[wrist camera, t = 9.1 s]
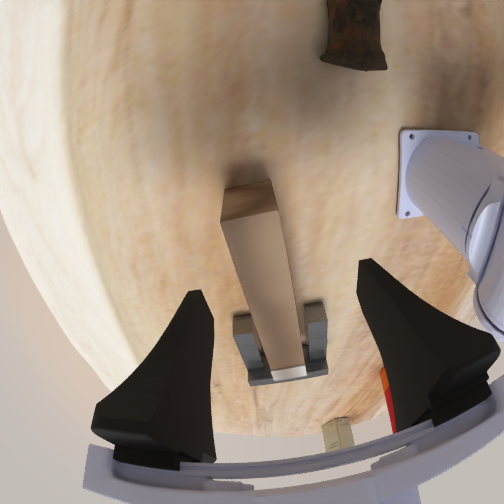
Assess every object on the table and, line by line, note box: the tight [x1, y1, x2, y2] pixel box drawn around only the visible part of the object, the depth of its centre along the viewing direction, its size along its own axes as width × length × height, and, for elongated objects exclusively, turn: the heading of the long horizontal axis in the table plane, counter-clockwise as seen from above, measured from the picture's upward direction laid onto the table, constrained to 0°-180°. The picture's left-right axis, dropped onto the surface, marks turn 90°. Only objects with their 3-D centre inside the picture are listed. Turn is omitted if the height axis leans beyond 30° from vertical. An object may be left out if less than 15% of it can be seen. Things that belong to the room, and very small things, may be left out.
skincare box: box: [322, 418, 355, 468], centre depth 49 cm, size 6×4×12 cm
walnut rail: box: [220, 180, 307, 381], centre depth 24 cm, size 4×20×5 cm, turn 12°
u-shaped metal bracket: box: [233, 302, 328, 386], centre depth 29 cm, size 10×9×4 cm
